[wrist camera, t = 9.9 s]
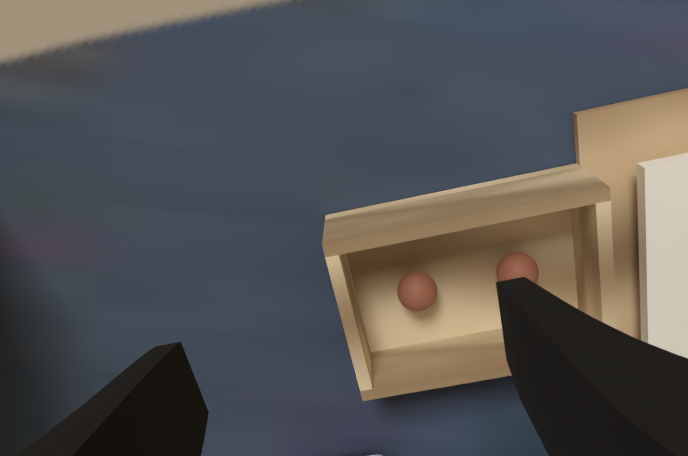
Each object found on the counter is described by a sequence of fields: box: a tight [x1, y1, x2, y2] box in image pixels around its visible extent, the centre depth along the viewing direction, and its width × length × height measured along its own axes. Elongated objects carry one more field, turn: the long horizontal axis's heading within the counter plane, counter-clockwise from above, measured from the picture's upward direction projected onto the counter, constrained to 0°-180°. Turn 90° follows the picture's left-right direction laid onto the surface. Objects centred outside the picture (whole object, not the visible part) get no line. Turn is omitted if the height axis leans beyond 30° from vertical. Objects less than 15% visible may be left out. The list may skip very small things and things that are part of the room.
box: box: [322, 163, 617, 401], centre depth 22 cm, size 7×10×3 cm
